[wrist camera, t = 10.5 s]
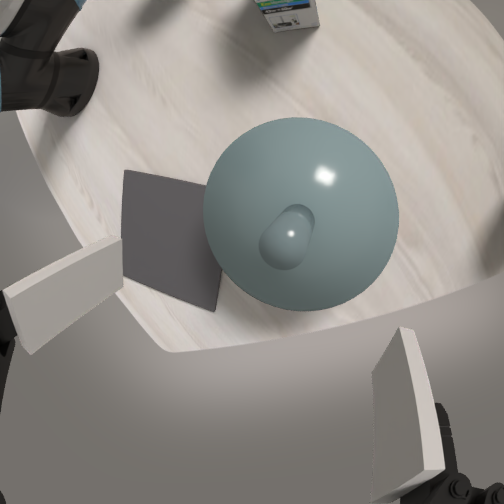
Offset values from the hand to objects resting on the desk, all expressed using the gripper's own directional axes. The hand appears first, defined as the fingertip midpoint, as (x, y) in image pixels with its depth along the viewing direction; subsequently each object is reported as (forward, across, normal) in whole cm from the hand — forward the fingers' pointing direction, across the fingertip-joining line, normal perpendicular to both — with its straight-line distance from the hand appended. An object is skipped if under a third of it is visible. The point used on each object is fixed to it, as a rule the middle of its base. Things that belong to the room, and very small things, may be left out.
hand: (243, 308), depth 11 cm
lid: (+17, 0, 0) cm, 17 cm away
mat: (+26, -20, -11) cm, 35 cm away
